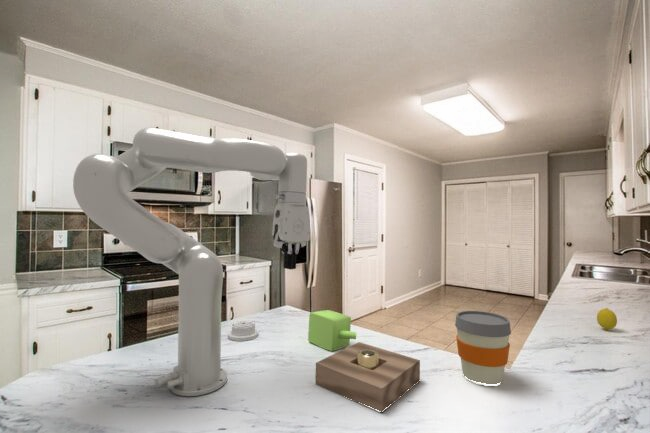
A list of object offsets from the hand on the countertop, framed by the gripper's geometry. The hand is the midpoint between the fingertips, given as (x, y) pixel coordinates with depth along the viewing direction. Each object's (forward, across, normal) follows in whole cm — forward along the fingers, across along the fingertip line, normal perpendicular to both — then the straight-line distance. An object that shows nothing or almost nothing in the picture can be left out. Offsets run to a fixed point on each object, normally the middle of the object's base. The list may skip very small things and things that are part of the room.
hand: (289, 268), depth 87 cm
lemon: (+23, +99, -62) cm, 119 cm away
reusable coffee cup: (+25, +30, -40) cm, 56 cm away
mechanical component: (+27, +6, +28) cm, 39 cm away
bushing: (+26, +8, -21) cm, 34 cm away
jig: (+26, +8, -21) cm, 34 cm away
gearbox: (+26, +21, +2) cm, 33 cm away
